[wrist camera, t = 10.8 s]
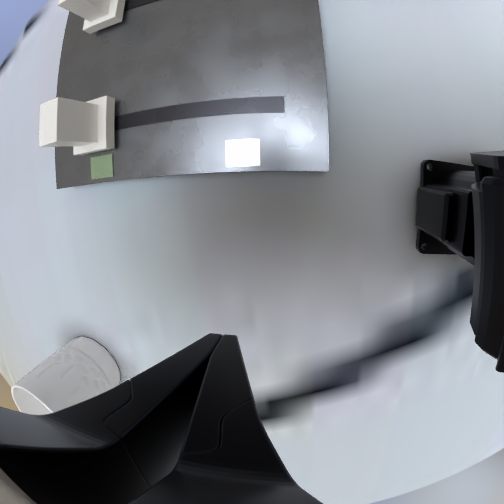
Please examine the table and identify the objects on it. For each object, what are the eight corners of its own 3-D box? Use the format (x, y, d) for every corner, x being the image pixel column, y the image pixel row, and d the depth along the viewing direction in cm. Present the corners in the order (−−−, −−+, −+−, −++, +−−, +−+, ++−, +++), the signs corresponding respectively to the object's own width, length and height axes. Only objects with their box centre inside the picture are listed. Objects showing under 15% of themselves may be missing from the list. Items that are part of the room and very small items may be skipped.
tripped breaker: (114, 97, 16) (67, 85, 11) (114, 148, 17) (65, 147, 12) (82, 107, 16) (34, 100, 12) (82, 154, 17) (32, 157, 13)
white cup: (57, 329, 26) (-1, 378, 16) (108, 331, 24) (44, 395, 15) (85, 386, 28) (40, 439, 18) (136, 394, 26) (93, 461, 17)
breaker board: (307, -41, 13) (308, -56, 11) (325, 171, 18) (329, 171, 16) (84, 6, 16) (71, -1, 14) (72, 186, 21) (56, 189, 19)
